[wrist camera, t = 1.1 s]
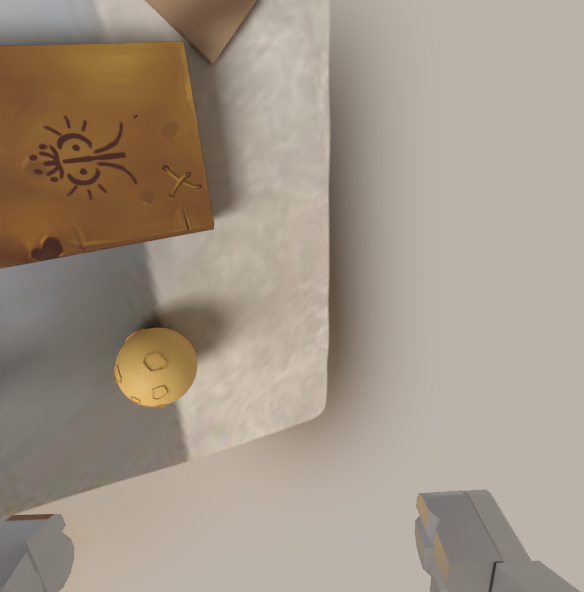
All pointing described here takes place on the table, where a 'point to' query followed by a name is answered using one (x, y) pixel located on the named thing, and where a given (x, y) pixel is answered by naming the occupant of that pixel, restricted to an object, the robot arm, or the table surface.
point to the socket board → (204, 21)
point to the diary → (97, 149)
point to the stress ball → (155, 366)
